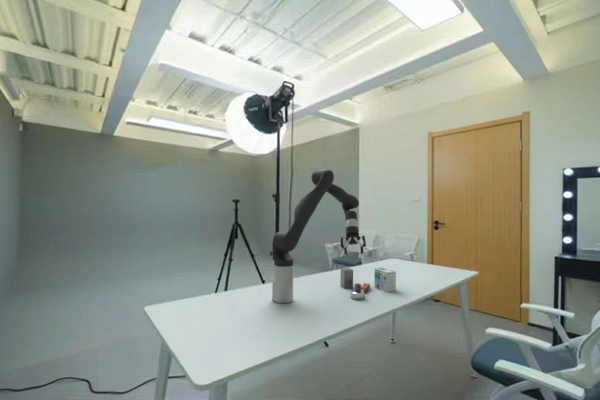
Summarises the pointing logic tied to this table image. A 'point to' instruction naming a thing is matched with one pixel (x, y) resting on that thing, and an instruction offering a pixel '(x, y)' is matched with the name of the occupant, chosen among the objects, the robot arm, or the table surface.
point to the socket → (346, 278)
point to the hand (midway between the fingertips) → (354, 254)
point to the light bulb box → (385, 279)
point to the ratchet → (359, 291)
